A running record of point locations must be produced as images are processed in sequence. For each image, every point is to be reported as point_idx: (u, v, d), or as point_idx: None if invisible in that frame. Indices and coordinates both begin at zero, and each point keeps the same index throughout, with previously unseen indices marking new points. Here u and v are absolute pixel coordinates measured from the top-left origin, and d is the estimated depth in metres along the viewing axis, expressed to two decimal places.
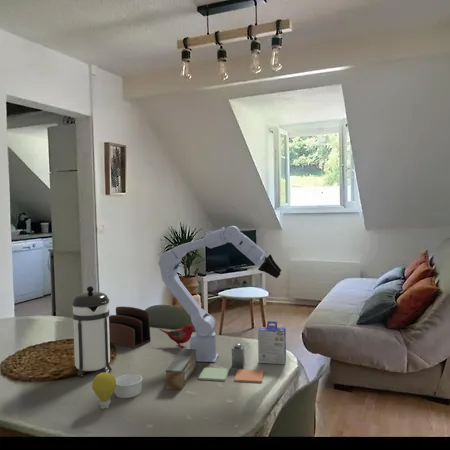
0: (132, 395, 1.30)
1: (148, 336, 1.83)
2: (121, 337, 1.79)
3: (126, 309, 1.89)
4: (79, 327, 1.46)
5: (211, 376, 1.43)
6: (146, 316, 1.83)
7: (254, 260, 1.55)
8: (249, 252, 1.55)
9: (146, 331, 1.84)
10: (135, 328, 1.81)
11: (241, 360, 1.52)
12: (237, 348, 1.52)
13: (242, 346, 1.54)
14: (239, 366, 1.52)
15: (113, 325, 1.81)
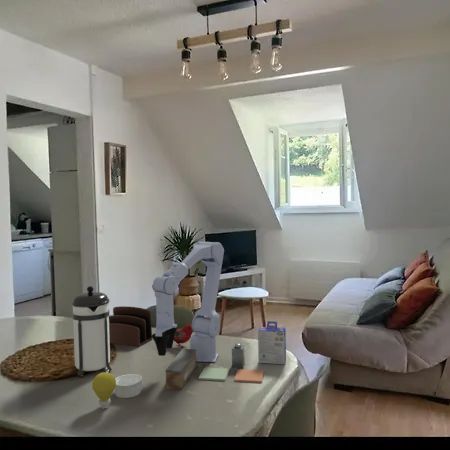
0: (132, 395, 1.30)
1: (150, 334, 1.86)
2: (124, 336, 1.80)
3: (125, 309, 1.89)
4: (79, 327, 1.46)
5: (211, 376, 1.43)
6: (148, 315, 1.85)
7: (158, 323, 1.43)
8: (160, 314, 1.42)
9: (148, 329, 1.86)
10: (138, 327, 1.82)
11: (241, 360, 1.52)
12: (237, 348, 1.52)
13: (242, 346, 1.54)
14: (239, 366, 1.52)
15: (115, 325, 1.81)
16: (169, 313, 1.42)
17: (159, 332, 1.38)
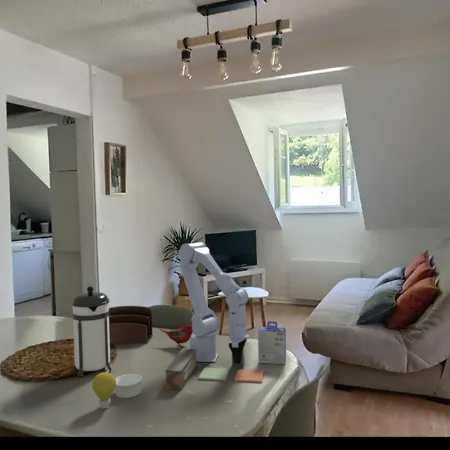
0: (132, 395, 1.30)
1: (150, 331, 1.90)
2: (130, 335, 1.82)
3: (123, 309, 1.90)
4: (79, 327, 1.46)
5: (211, 376, 1.43)
6: (148, 312, 1.90)
7: (232, 334, 1.51)
8: (235, 326, 1.51)
9: None
10: None
11: (241, 360, 1.52)
12: None
13: None
14: (239, 366, 1.52)
15: (119, 325, 1.82)
16: (242, 325, 1.51)
17: (236, 343, 1.46)
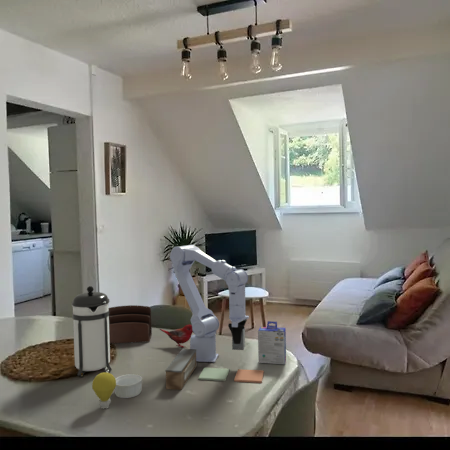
0: (132, 395, 1.30)
1: None
2: (132, 334, 1.83)
3: (121, 309, 1.90)
4: (79, 327, 1.46)
5: (211, 376, 1.43)
6: (148, 311, 1.91)
7: (231, 315, 1.51)
8: (234, 306, 1.50)
9: None
10: None
11: (241, 342, 1.51)
12: None
13: None
14: (239, 348, 1.52)
15: (120, 324, 1.82)
16: (242, 305, 1.51)
17: (235, 323, 1.46)
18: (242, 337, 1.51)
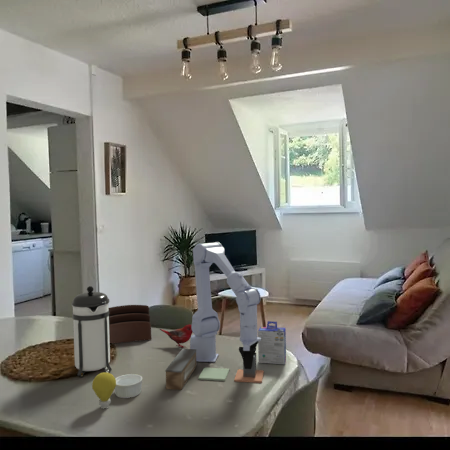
0: (132, 395, 1.30)
1: None
2: (134, 333, 1.84)
3: (120, 308, 1.91)
4: (79, 327, 1.46)
5: (211, 376, 1.43)
6: (146, 310, 1.94)
7: (242, 337, 1.42)
8: (245, 328, 1.41)
9: None
10: None
11: (253, 369, 1.42)
12: None
13: (254, 354, 1.44)
14: (251, 375, 1.42)
15: (122, 324, 1.83)
16: (254, 327, 1.41)
17: (247, 346, 1.36)
18: (254, 364, 1.42)
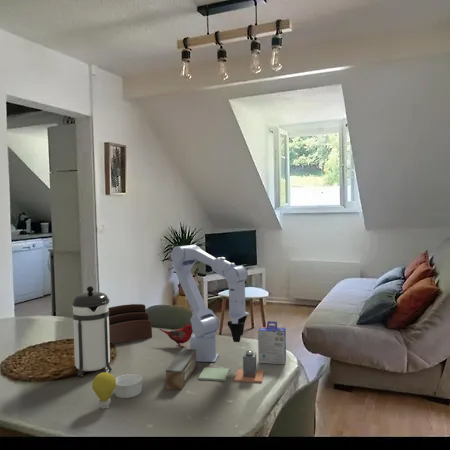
0: (132, 395, 1.30)
1: None
2: (135, 332, 1.86)
3: (117, 309, 1.91)
4: (79, 327, 1.46)
5: (211, 376, 1.43)
6: (143, 309, 1.96)
7: (231, 311, 1.50)
8: (234, 302, 1.49)
9: None
10: None
11: (253, 369, 1.42)
12: (249, 356, 1.42)
13: (254, 354, 1.44)
14: (251, 375, 1.42)
15: (124, 323, 1.83)
16: (242, 301, 1.50)
17: (235, 319, 1.45)
18: (254, 364, 1.42)
